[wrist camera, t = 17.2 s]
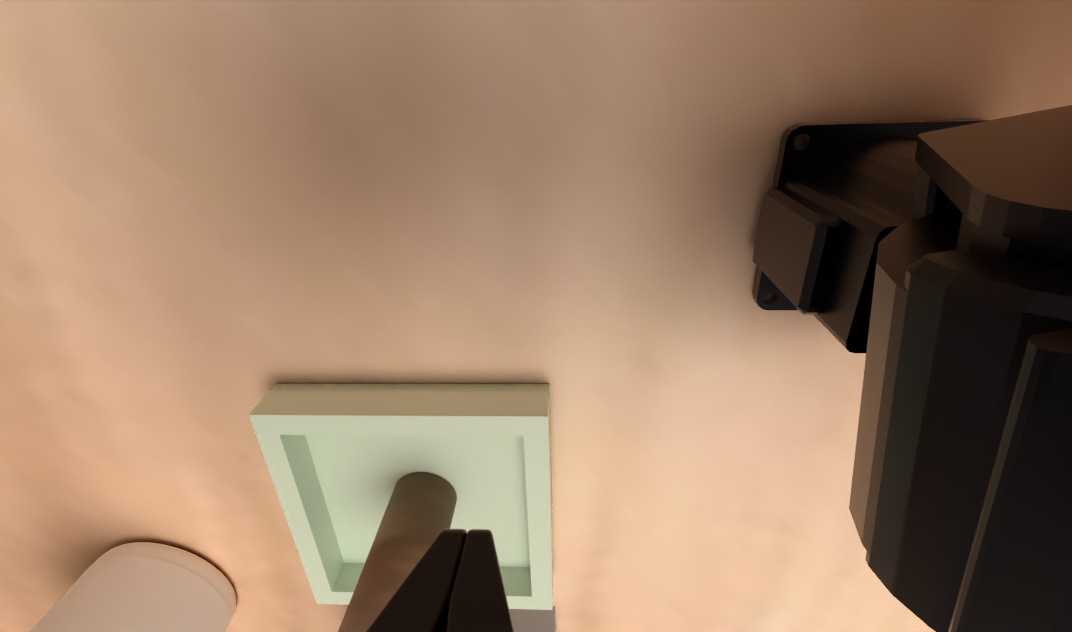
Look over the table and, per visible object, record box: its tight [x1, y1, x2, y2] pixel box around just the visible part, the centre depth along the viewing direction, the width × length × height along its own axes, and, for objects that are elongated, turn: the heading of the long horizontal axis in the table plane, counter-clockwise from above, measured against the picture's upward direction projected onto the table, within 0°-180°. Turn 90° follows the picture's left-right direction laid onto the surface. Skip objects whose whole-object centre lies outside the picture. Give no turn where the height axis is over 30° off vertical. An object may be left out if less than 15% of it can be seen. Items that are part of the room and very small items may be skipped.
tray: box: [249, 383, 553, 610], centre depth 24 cm, size 12×12×2 cm
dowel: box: [338, 472, 457, 632], centre depth 21 cm, size 3×3×7 cm
